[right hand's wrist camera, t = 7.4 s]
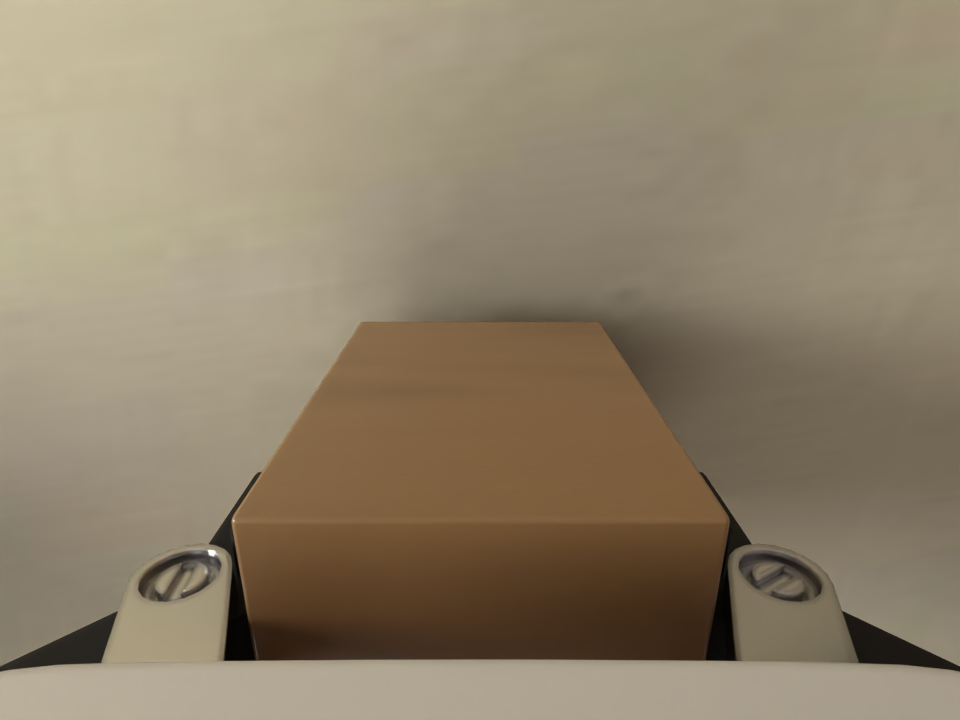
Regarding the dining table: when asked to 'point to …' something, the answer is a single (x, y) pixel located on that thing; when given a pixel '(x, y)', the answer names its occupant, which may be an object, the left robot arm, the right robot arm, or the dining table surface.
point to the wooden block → (480, 507)
